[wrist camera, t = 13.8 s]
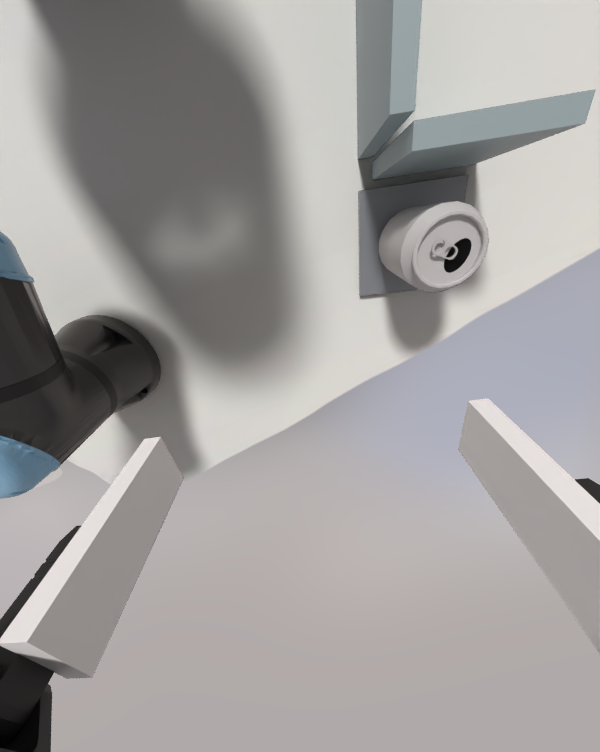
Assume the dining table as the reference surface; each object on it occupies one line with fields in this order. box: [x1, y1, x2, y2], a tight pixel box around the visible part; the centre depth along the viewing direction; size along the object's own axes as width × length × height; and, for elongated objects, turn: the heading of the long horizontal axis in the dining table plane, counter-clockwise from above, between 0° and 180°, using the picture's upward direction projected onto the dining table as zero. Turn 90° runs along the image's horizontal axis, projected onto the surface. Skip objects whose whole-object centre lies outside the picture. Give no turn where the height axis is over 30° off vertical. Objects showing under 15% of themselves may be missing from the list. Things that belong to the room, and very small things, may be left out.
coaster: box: [358, 175, 468, 296], centre depth 33 cm, size 12×12×1 cm
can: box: [379, 201, 489, 292], centre depth 28 cm, size 8×8×12 cm
